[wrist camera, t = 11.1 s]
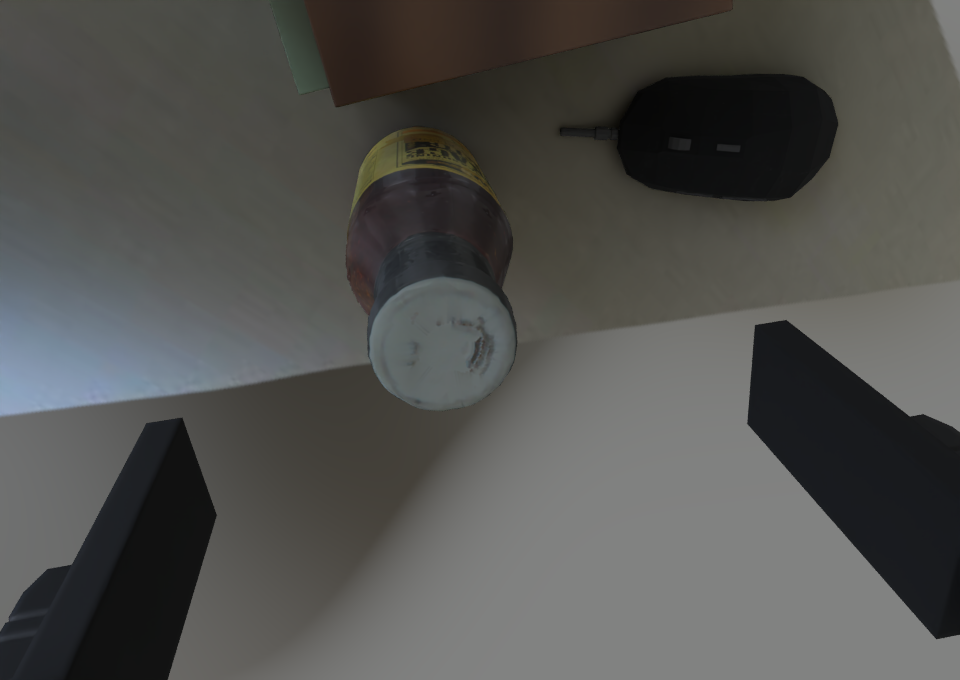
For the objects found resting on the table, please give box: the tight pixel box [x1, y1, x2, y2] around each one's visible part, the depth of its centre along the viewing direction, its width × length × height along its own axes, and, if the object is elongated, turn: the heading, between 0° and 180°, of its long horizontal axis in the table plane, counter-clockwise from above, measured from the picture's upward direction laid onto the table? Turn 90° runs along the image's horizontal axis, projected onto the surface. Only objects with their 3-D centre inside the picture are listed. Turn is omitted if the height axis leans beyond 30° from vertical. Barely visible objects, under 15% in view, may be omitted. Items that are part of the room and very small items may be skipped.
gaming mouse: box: [560, 74, 838, 201], centre depth 36 cm, size 6×15×4 cm, turn 88°
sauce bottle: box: [346, 126, 517, 411], centre depth 28 cm, size 6×6×20 cm
